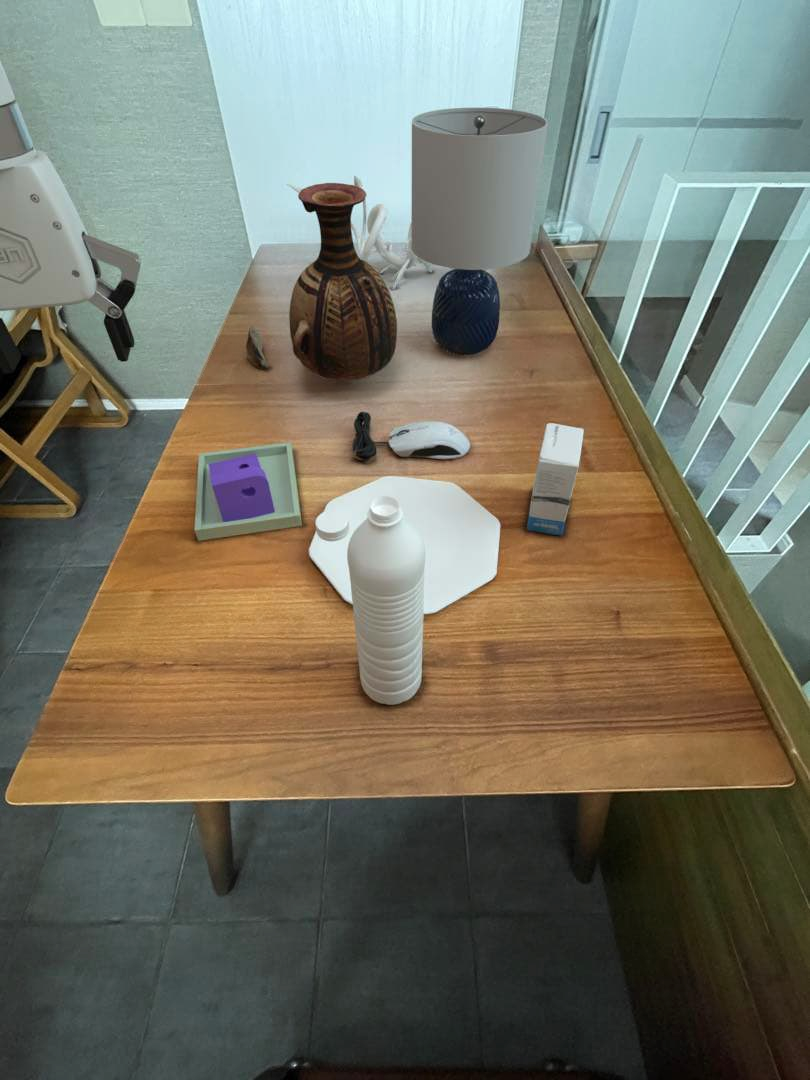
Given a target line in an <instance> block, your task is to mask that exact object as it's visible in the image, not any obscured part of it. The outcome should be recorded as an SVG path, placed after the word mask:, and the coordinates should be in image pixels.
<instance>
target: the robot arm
mask: <svg viewBox="0 0 810 1080" xmlns="http://www.w3.org/2000/svg"><path fill="white" fill-rule="evenodd" d="M99 261H100V262H102V263H104V264H107V265H109V266H112V267H116V268H117V269H119V271H120V273H121V275H120V281H119V282H118V284H117V285H116V287H115V288H114V286H112V285H111V284H110V283H108V281H107V282H106V281H105V280H104V279H103V278H102V270H101V266H100V263H99ZM141 264H142V258H141V256H140V255H139V254H137V252H136V253H135V252H133V251H130V250H129V249H125V248H123V247H120V246H117V245H115V244H112V243H109V242H106V241H104V240H102V239H99V238H96V237H93V236H92V235H88V232H87V229H86V227H85V225H84V223H83V221H82V219H81V216H80V214H79V212H78V210H77V208H76V206H75V204H74V202H73V199H72V198H71V196H70V194H69V192H68V191H67V188H66V186H65V184H64V183H63V181H62V179H61V177H60V175H59V174H58V172H57V170H56V168H55V167H54V165H53V163H52V161H51V160H50V158H49V157H48V155H47V153H46V152H45V151H43V150H36V147H35V146H34V143H33V140H32V138H31V135H30V133H29V130H28V127H27V125H26V122H25V119H24V117H23V114H22V111H21V109H20V106H19V104H18V101H17V99H16V97H15V94H14V91H13V87H12V86H11V83H10V81H9V78H8V76H7V73H6V71H5V68H4V66H3V62H2V60H1V59H0V312H4V311H5V312H6V311H18V310H29V309H30V310H31V309H42V308H53V307H64V306H73V305H79V304H82V303H86V302H89V303H90V304H92V305H93V306H94V307H95V308H97V310H100V311H101V312H103V313H104V314H105V316H104V318H103V325H104V327H105V330H106V332H107V335H108V337H109V340H110V343H111V345H112V348H113V351H114V353H115V356H116V358H117V361H120V362H123V363H124V362H128V361H129V357H130V352H131V350H132V349H131V348H135V338H134V334H133V332H132V328H131V326H130V323H129V321H128V318H127V315H126V312H125V309H126V307H127V306H128V305H129V303H130V301H131V300H132V298H133V296H134V295H135V292H136V289H137V284H138V280H139V275H140V269H141ZM21 359H22V355H21V353H20V350H19V348H18V347H17V345H16V342H15V341H14V339H13V337H12V335H11V333H10V331H9V329H8V327H7V325H6V323H5V321H4V319H3V318H2V317H0V368H1V370H2V373H4V374H5V375H6V374H13V372H15V370H16V368H17V366H18V364H19V363H20V360H21Z"/></svg>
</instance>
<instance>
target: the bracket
mask: <svg viewBox="0 0 810 1080" xmlns="http://www.w3.org/2000/svg"><path fill="white" fill-rule="evenodd" d="M208 465H209V470H210V480H211V484H212V487H213V490H214V494H215V497H216V500H217V503H218V506H219V510H220V513H221V516H222V519H223V522H228V521H235V520H242V519H249V518H254V517H258V516H262V515H266V514H270V513H274V512H275V510H274V506H273V501H272V497H271V492H270V488H269V483H268V480H267V477H266V475H265V472H264V471H263V469H261V466H260V464H259V461H258V458H257V456H256V454H250V455H246V456H242V457H237V458H233V459H229V460H224V461H220V462H215V463H211V464H208Z"/></svg>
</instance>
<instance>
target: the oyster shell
mask: <svg viewBox="0 0 810 1080" xmlns="http://www.w3.org/2000/svg"><path fill="white" fill-rule="evenodd" d="M262 338H263V337H262V334H261V332H260V331H259V330H258V329H257V328H255V327H253V326H250V327H249V330H248V333H247V341H246V344H245V352H246V356H247V358H248V360H249V361H250V363H251V364H252V365H253V366H255V367H256V368H258V369H262V370H266V369H268V368H269V363H268V362H267V361H266V357H265V355H264V353H263V348H264V346H263V339H262Z"/></svg>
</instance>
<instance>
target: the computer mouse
mask: <svg viewBox="0 0 810 1080" xmlns="http://www.w3.org/2000/svg"><path fill="white" fill-rule="evenodd" d="M371 421H372V416H371V414H370V413H369V412H368V411H367V412H366V411H359V413H358V414H357V415H356V418H355V419H354V422H353V426H354V427H353V428H354V431H355V433H354V434H355V435H354V438H353V441H352V452H353V458H355V459H357V460H359V461H361V460H362V461H365V462H368V461H370V460H371V459H372V458H374V457H375V456H376V455H377V453H378V450H377V449H378V448H377V445H381V444H387V445H388V446H389V447H390V448H391V449H392V451H393V452H394V453H395V454H397V455H398V456H399V457H403V458H406V457H407V458H408V457H409V458H410V457H418V458H419V457H420V458H430V459H434V460H457V459H460V458H462V457H464V456H465V455H466V454H467V453H469V451H470V449H471V442H470V440H469V439H468V438H467V436H466V435H465V434H464V433H463V432H462V431H461V430H460V429H458V428H457V427H455V426H454V425H452V424H450V423H447V422H444V421H436V420H435V421H418V422H417V421H416V422H412V423H408V424H405V425H401V426H398V427H395V428H392V431H391V432H390V434H389V435H388V438H390V439H389V440H388V441H374V440H373V439H372V437H371V435H370V427H371Z"/></svg>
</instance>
